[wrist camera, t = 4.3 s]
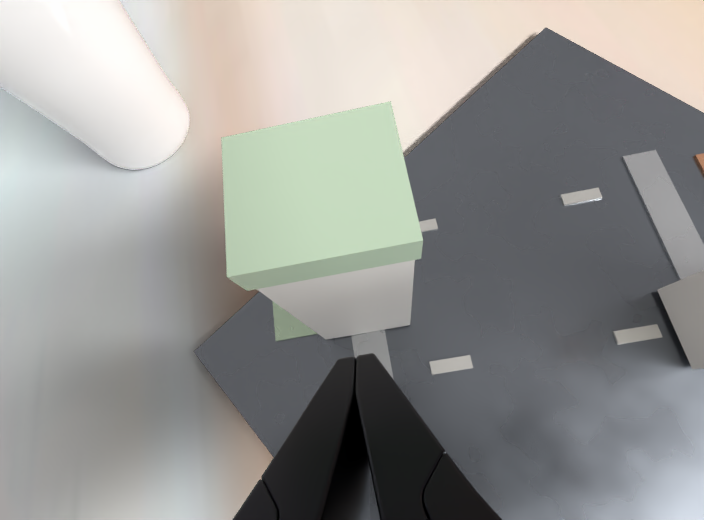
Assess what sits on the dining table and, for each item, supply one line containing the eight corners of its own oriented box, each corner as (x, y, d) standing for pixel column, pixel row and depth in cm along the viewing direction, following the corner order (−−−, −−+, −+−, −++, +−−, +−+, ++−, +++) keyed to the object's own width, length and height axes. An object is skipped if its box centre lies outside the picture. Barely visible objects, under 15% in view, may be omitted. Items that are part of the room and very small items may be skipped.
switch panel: (1157, 375, 13) (1191, 373, 12) (748, 1073, 9) (770, 1116, 9) (537, 32, 21) (540, 22, 20) (195, 347, 17) (188, 345, 17)
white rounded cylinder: (73, 137, 22) (-478, -295, 8) (166, 66, 23) (-191, -427, 9) (130, 210, 20) (-489, -211, 6) (230, 129, 21) (-112, -396, 7)
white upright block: (413, 327, 16) (423, 240, 7) (323, 342, 16) (226, 277, 7) (398, 254, 17) (390, 101, 8) (314, 269, 17) (221, 137, 8)
